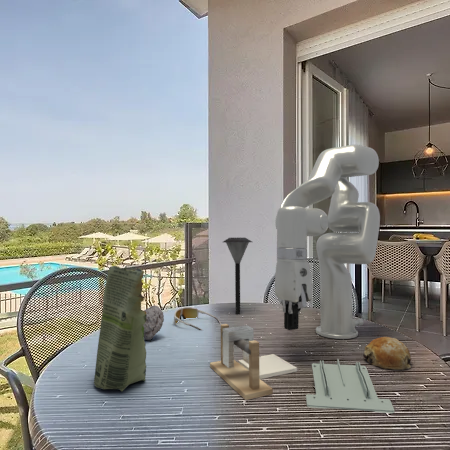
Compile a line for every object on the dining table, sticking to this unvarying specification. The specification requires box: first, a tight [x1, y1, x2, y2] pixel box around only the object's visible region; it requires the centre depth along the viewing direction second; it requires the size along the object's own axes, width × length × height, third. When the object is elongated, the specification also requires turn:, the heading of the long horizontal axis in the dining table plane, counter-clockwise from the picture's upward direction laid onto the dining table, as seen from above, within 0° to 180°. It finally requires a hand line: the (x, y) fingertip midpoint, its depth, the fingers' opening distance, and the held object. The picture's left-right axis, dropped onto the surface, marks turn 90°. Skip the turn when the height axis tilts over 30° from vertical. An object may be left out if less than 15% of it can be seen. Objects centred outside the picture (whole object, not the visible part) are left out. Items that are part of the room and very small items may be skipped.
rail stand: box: [209, 323, 274, 401], centre depth 74 cm, size 18×6×10 cm, turn 25°
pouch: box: [93, 264, 147, 392], centre depth 73 cm, size 11×12×25 cm
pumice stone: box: [143, 305, 165, 341], centre depth 103 cm, size 10×8×10 cm
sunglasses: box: [173, 306, 222, 331], centre depth 120 cm, size 14×15×5 cm
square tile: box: [237, 353, 298, 380], centre depth 81 cm, size 10×10×1 cm
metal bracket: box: [305, 358, 395, 414], centre depth 67 cm, size 14×6×15 cm
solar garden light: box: [222, 237, 253, 315], centre depth 135 cm, size 12×12×30 cm
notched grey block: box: [223, 324, 255, 368], centre depth 74 cm, size 6×3×8 cm, turn 115°
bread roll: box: [363, 336, 412, 371], centre depth 83 cm, size 10×10×8 cm
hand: (291, 328), depth 86 cm, fingers closed
